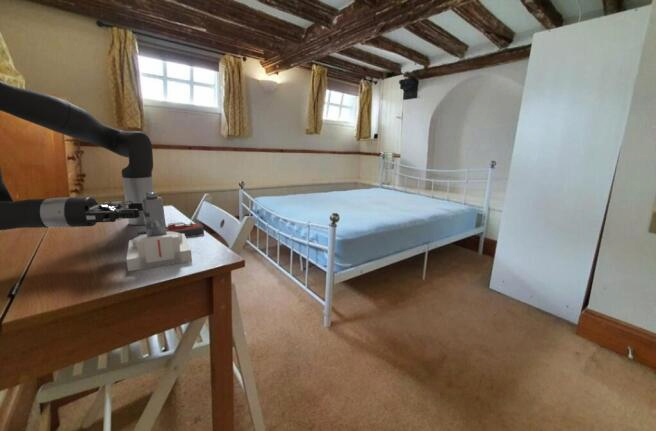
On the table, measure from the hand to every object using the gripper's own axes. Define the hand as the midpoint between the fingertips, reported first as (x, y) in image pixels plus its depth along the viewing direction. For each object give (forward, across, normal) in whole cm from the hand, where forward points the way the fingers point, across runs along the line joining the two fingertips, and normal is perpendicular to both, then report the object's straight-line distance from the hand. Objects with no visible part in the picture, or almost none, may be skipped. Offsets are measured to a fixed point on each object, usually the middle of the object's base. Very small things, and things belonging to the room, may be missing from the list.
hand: (144, 209), depth 78 cm
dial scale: (+3, -2, +12) cm, 13 cm away
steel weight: (+2, 0, +8) cm, 8 cm away
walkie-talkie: (+3, +17, +13) cm, 22 cm away
